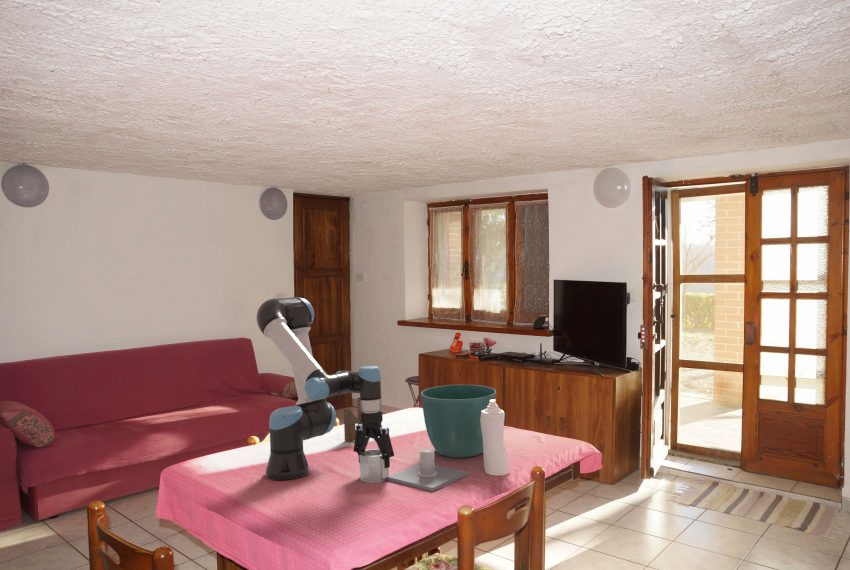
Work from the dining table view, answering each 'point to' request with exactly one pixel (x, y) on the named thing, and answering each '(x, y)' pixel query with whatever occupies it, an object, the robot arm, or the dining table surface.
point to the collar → (371, 466)
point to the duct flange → (427, 474)
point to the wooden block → (351, 422)
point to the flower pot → (456, 418)
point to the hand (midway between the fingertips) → (374, 474)
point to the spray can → (494, 440)
